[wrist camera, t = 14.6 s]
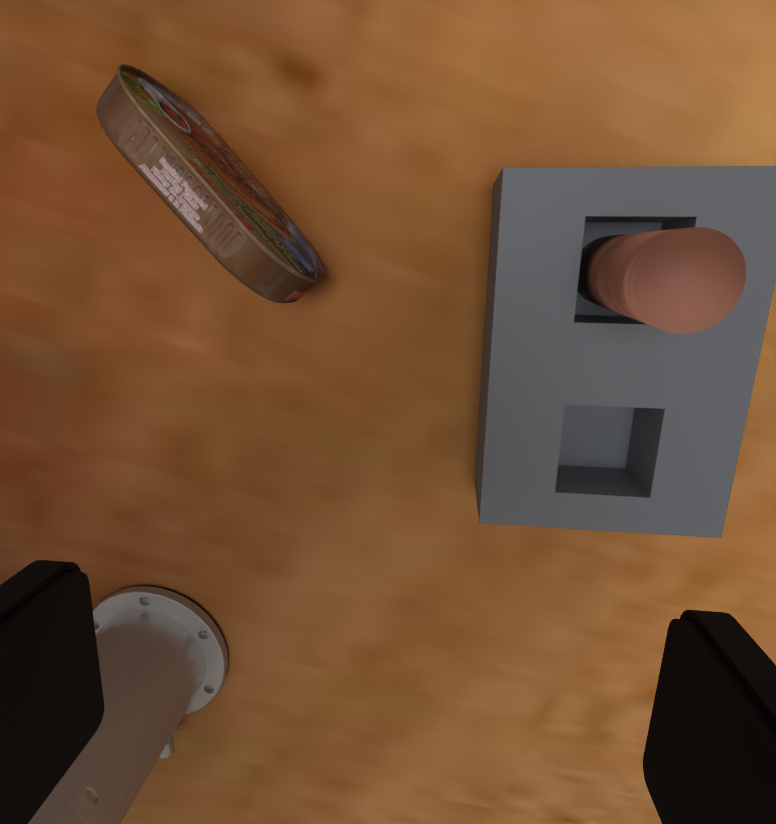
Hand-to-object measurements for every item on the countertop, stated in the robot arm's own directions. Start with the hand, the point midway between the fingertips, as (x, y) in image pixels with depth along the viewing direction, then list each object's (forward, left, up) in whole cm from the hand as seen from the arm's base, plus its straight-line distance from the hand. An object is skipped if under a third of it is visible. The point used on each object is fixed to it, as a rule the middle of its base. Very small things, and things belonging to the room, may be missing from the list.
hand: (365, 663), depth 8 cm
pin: (+6, -11, -27) cm, 30 cm away
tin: (+10, +12, -29) cm, 33 cm away
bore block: (+1, -11, -29) cm, 31 cm away
